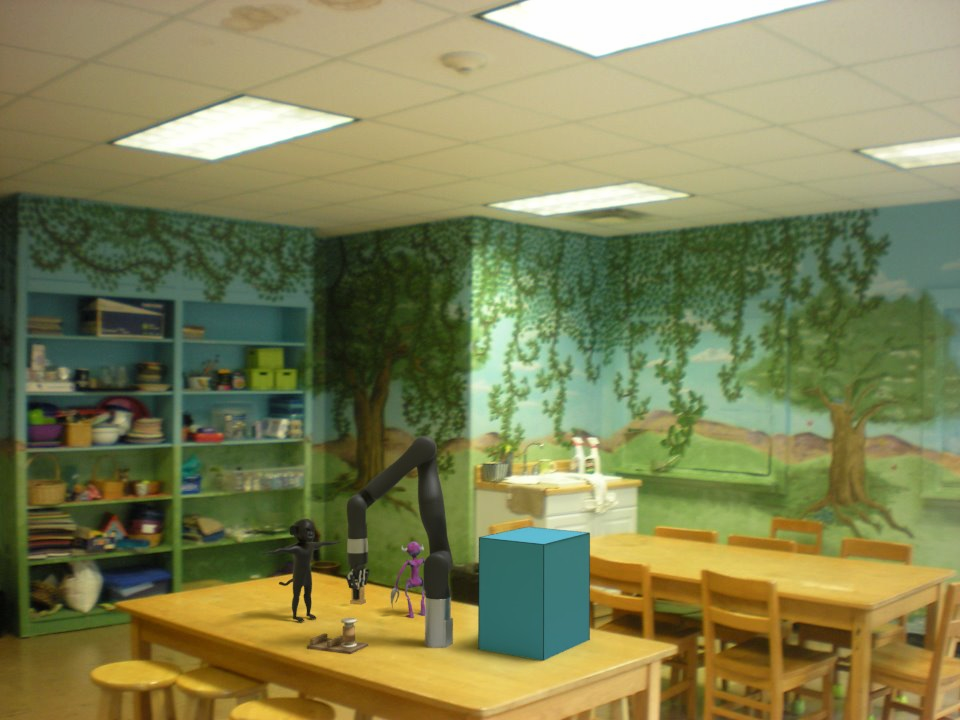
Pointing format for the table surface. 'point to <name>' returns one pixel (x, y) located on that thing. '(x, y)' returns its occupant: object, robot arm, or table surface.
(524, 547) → the box
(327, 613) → the table surface
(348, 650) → the board
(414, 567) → the toy
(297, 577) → the monkey
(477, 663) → the table surface
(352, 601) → the tan wooden block
